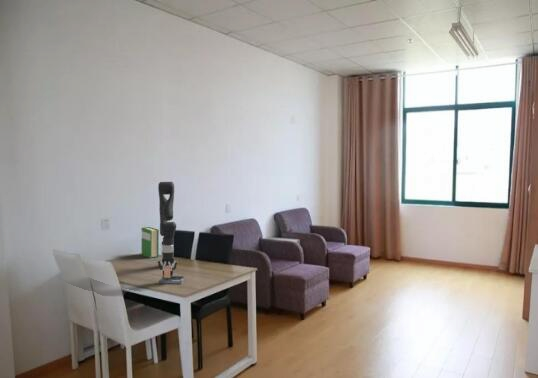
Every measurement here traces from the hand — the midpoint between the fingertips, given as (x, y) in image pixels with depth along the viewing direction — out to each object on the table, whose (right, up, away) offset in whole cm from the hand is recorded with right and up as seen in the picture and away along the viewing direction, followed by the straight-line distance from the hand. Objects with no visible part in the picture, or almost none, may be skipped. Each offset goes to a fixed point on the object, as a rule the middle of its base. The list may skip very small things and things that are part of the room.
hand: (167, 275), depth 269 cm
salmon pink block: (0, -1, 0) cm, 1 cm away
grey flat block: (+2, -4, 0) cm, 5 cm away
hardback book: (-35, +1, +75) cm, 83 cm away
